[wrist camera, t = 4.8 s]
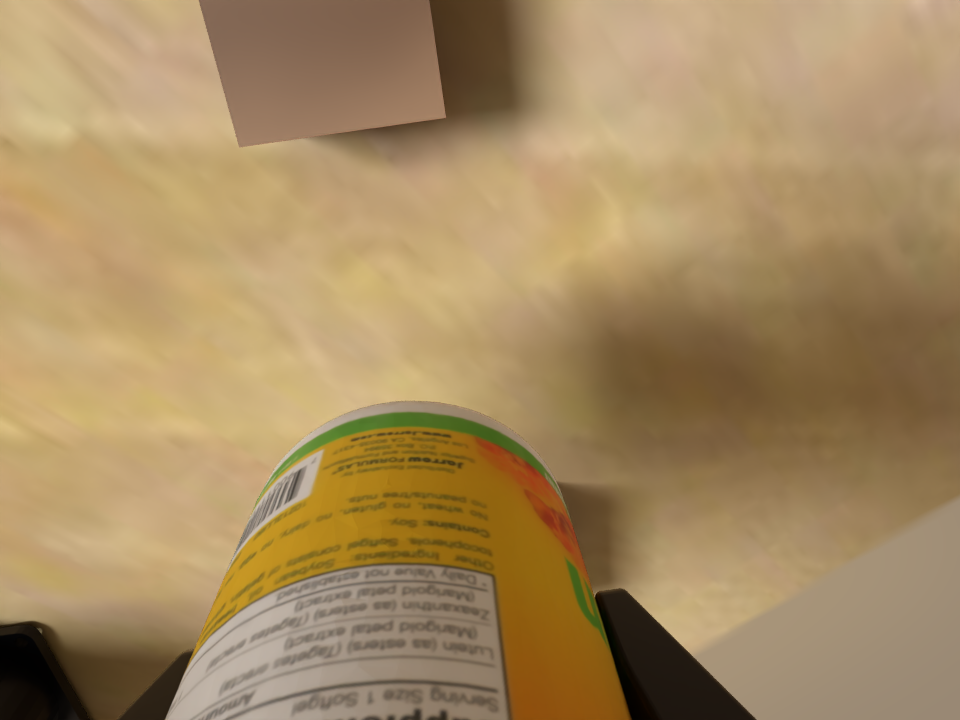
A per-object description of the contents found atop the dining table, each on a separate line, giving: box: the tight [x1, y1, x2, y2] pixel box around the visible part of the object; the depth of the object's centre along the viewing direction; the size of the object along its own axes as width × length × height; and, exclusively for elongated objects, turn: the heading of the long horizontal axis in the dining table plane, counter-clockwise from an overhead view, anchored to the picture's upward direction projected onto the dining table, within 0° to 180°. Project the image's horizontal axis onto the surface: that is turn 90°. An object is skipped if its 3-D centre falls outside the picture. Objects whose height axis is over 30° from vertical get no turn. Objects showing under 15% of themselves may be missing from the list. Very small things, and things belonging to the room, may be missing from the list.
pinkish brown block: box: [199, 0, 446, 147], centre depth 15 cm, size 4×4×4 cm
